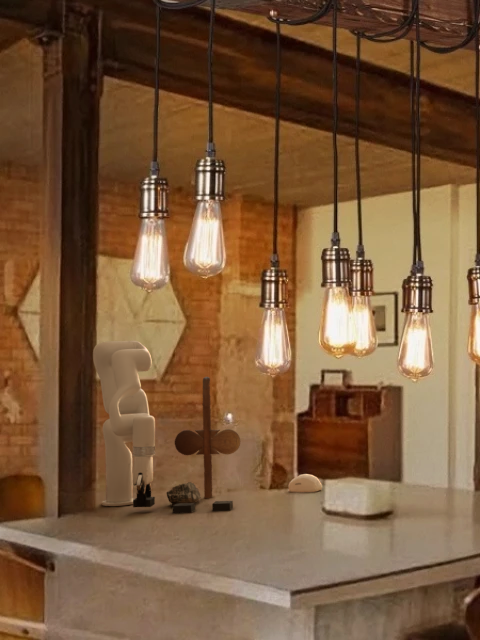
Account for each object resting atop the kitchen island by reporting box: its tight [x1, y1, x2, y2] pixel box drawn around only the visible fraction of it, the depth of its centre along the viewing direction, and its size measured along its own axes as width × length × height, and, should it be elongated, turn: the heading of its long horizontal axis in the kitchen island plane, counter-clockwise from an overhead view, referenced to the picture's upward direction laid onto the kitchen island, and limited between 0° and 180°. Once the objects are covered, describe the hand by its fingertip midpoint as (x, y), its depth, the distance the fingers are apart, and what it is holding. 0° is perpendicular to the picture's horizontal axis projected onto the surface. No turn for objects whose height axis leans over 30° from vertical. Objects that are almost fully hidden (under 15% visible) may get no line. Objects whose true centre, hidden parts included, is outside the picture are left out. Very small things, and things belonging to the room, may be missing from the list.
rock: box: [166, 481, 202, 506], centre depth 393 cm, size 18×10×10 cm
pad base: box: [172, 502, 196, 514], centre depth 374 cm, size 6×6×2 cm
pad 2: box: [211, 500, 234, 512], centre depth 376 cm, size 6×6×2 cm
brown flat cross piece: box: [174, 376, 241, 499], centre depth 408 cm, size 25×4×45 cm, turn 81°
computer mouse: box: [287, 473, 323, 493], centre depth 417 cm, size 6×13×6 cm, turn 75°
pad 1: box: [132, 496, 156, 508], centre depth 377 cm, size 6×6×2 cm
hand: (143, 503), depth 377 cm, fingers closed on pad 1, 6 cm apart
